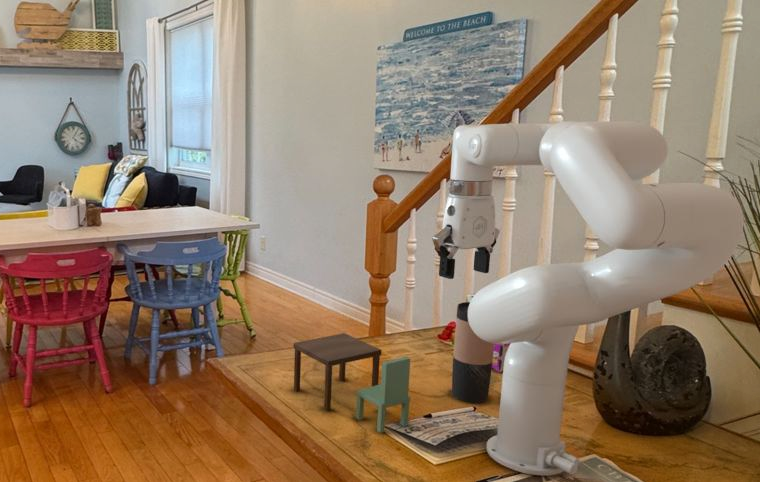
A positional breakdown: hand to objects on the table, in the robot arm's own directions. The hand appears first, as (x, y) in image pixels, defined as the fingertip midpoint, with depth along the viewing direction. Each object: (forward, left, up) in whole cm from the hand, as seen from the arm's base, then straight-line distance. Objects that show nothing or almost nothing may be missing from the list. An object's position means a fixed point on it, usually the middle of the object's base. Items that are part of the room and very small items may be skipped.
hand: (463, 274), depth 127 cm
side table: (+16, +18, -28) cm, 37 cm away
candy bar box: (+13, -26, -28) cm, 41 cm away
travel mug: (+2, -7, -28) cm, 29 cm away
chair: (+2, +18, -28) cm, 34 cm away
